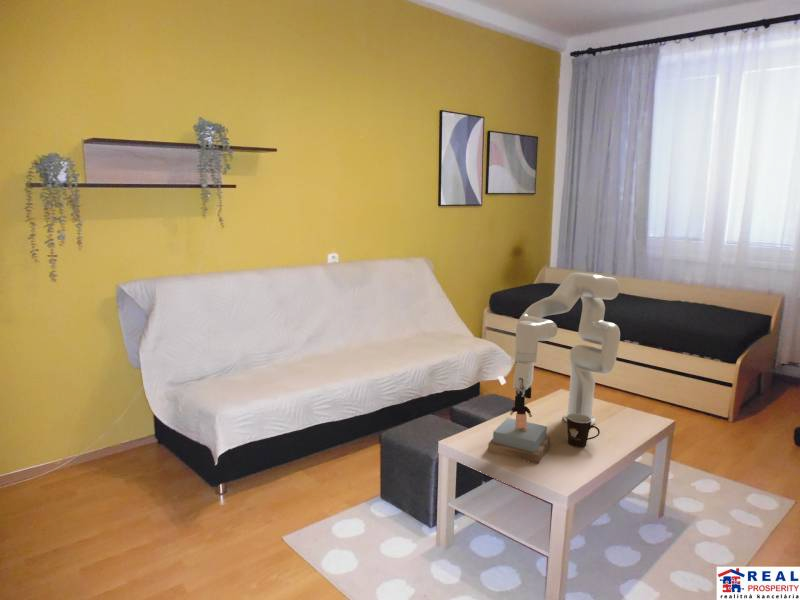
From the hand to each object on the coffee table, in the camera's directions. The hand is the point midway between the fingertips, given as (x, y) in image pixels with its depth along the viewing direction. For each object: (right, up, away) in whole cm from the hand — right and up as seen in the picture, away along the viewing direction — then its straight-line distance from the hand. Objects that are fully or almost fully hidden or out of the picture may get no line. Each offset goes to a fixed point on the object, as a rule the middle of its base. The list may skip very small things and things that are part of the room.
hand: (522, 402), depth 198 cm
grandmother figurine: (-1, -10, +1) cm, 10 cm away
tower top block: (0, -14, +3) cm, 14 cm away
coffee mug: (+22, -17, +6) cm, 29 cm away
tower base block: (0, -18, +3) cm, 18 cm away
